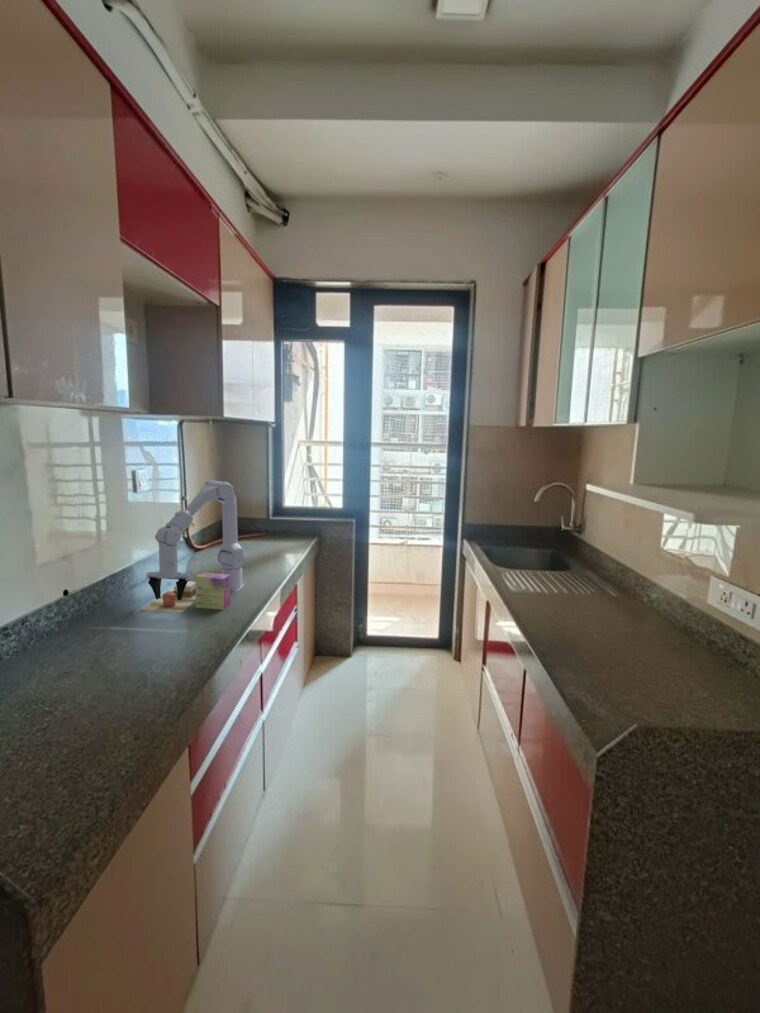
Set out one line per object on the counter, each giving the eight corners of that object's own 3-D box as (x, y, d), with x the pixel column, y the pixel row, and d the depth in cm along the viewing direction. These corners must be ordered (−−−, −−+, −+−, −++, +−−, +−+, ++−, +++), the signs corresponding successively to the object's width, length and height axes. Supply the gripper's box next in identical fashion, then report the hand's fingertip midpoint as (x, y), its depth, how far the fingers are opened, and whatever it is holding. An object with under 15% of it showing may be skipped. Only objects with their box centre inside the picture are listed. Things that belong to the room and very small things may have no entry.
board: (171, 589, 184) (171, 588, 183) (207, 591, 184) (207, 589, 184) (140, 612, 160) (140, 610, 160) (182, 613, 160) (182, 612, 160)
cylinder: (166, 602, 168) (165, 592, 167) (177, 603, 168) (177, 592, 167) (161, 606, 164) (160, 595, 163) (172, 607, 164) (172, 596, 163)
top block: (181, 586, 180) (181, 580, 180) (196, 586, 180) (196, 581, 180) (174, 591, 174) (174, 585, 174) (190, 591, 174) (190, 586, 174)
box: (230, 605, 170) (230, 574, 168) (223, 611, 164) (223, 578, 162) (203, 603, 170) (202, 571, 169) (195, 609, 165) (194, 576, 163)
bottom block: (180, 590, 181) (180, 585, 181) (198, 591, 181) (198, 586, 181) (172, 596, 174) (172, 591, 174) (191, 597, 174) (191, 592, 174)
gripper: (141, 563, 159) (142, 601, 161) (184, 565, 160) (185, 603, 161) (151, 558, 166) (152, 595, 168) (192, 560, 167) (193, 596, 168)
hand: (169, 598), depth 165 cm, fingers open, 7 cm apart
